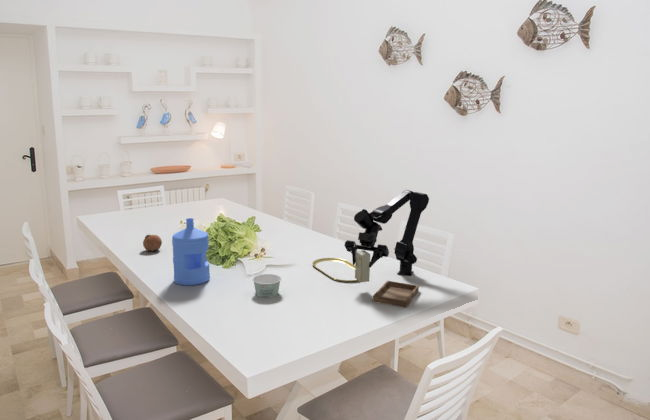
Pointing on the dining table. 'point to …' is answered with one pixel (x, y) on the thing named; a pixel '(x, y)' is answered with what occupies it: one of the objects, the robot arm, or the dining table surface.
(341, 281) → the gold hoop ring
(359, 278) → the skincare box
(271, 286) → the food container
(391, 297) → the walnut tray
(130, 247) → the dining table surface
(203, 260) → the water jug
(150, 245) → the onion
